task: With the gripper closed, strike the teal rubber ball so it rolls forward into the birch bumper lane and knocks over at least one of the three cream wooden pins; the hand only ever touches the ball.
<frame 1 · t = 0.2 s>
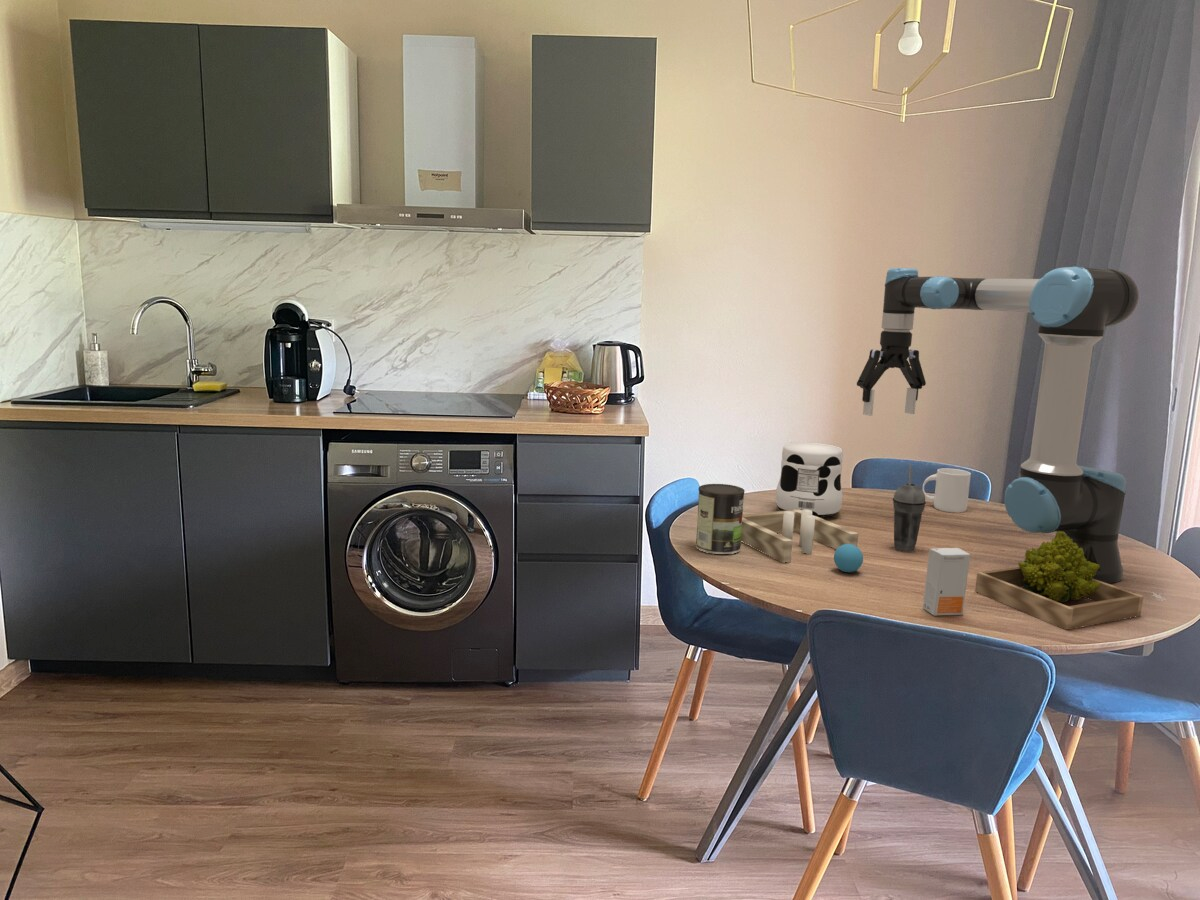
hand: (888, 414, 224), 28 cm above the table, tool pointing down, fingers open, 13 cm apart
mug: (943, 509, 244), on the table
beverage cup: (904, 549, 204), on the table
skincare box: (942, 613, 164), on the table
coffee can: (717, 549, 199), on the table
bumper: (790, 544, 204), on the table
pin back right: (804, 546, 203), on the table
pin back left: (786, 548, 201), on the table
ball: (848, 558, 185), on the table
milk container: (807, 514, 233), on the table
crate: (1055, 603, 171), on the table
pin front: (806, 552, 199), on the table
vegetable: (1053, 597, 174), resting in crate
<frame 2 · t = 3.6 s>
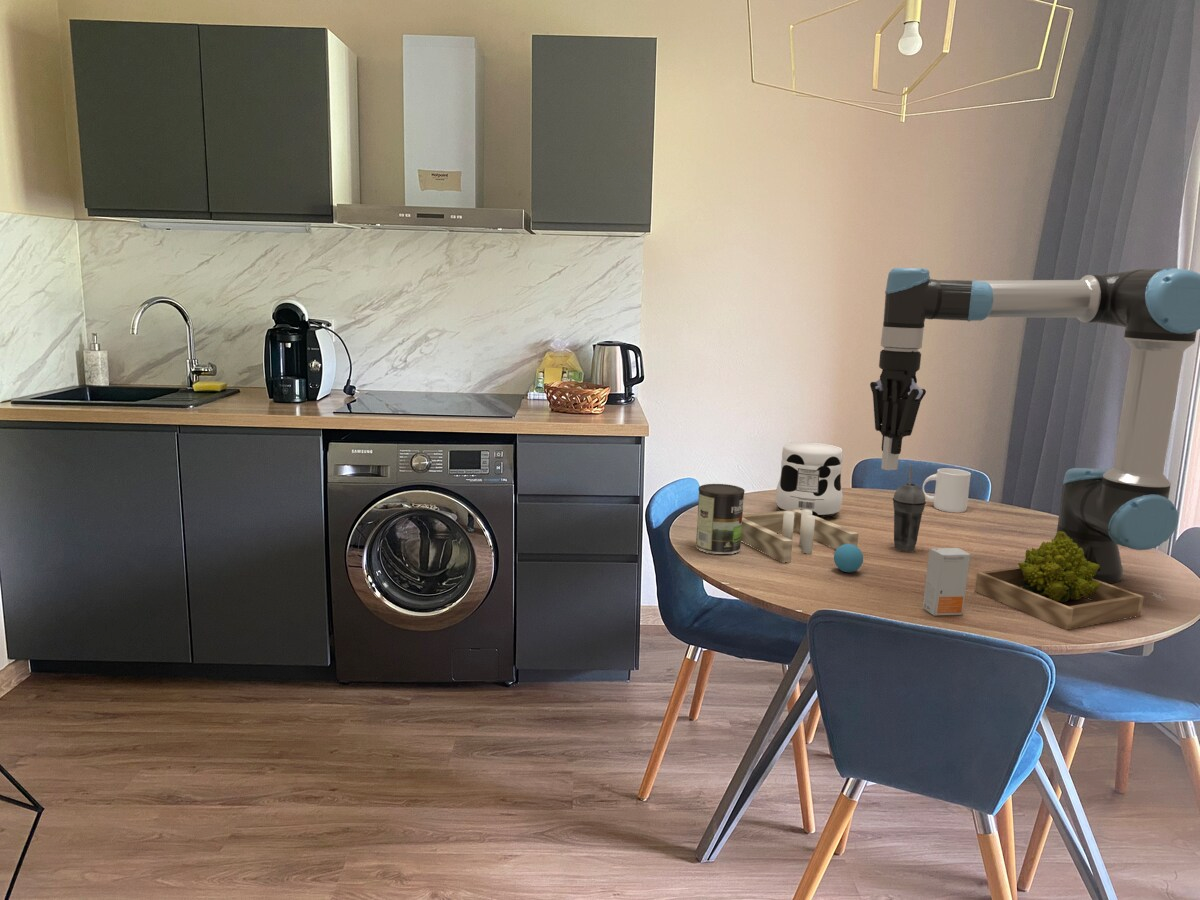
hand: (889, 469, 173), 24 cm above the table, tool pointing down, fingers closed
nothing on the table moved.
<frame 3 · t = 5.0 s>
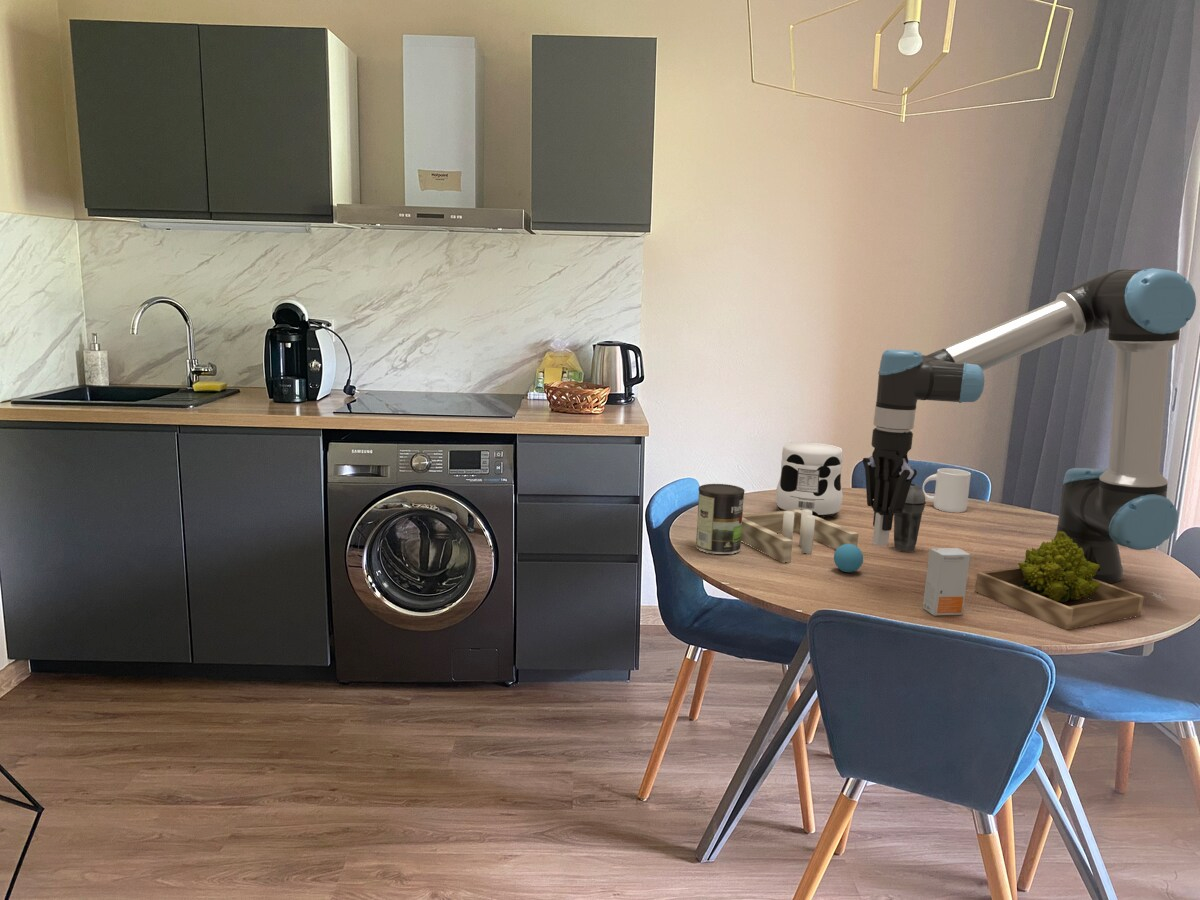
hand: (880, 544, 176), 9 cm above the table, tool pointing down, fingers closed
nothing on the table moved.
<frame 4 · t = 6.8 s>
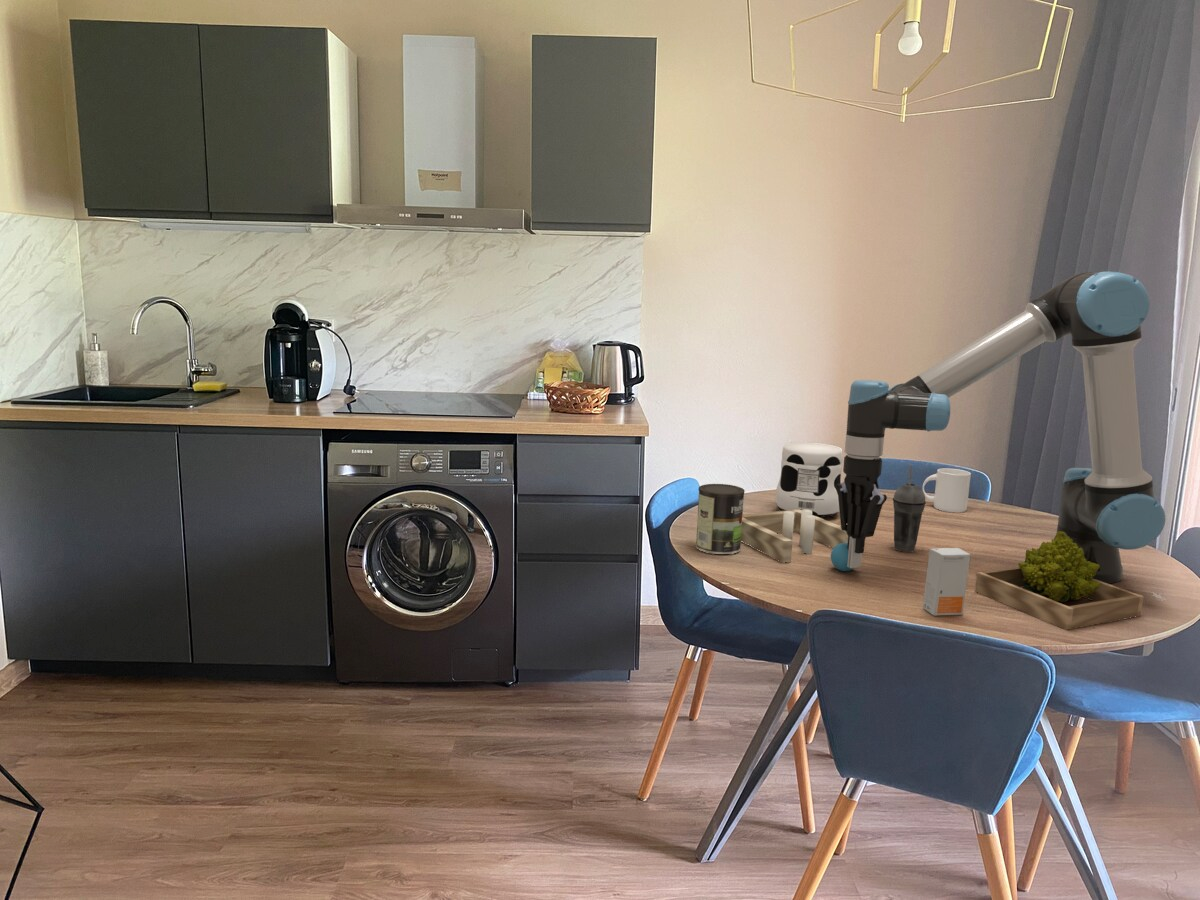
hand: (854, 566, 183), 2 cm above the table, tool pointing down, fingers closed
ball: (845, 557, 186), on the table, touching gripper
everything else where it was.
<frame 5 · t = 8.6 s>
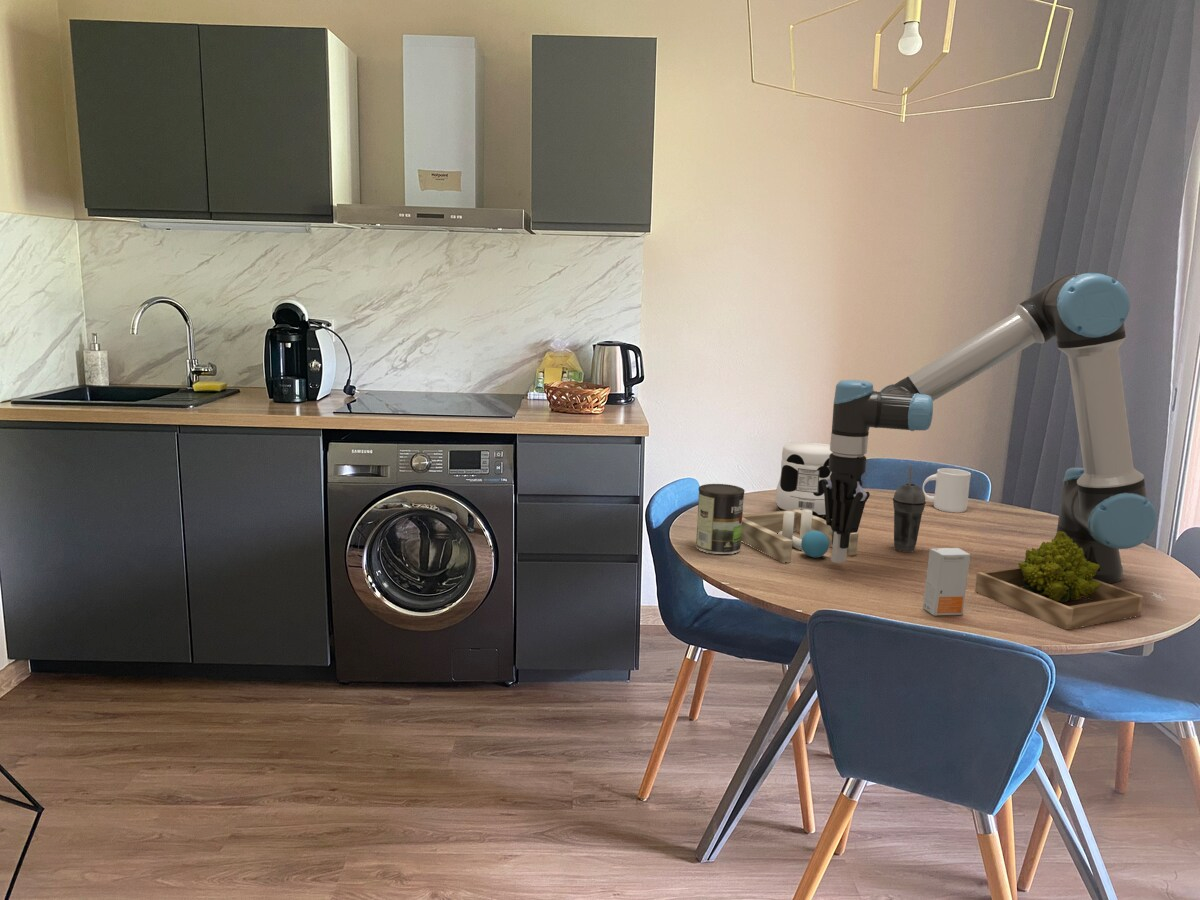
hand: (838, 561, 188), 1 cm above the table, tool pointing down, fingers closed
ball: (815, 543, 195), on the table
pin front: (803, 546, 200), point 1 cm above the table, tilted 90°
everything else where it was.
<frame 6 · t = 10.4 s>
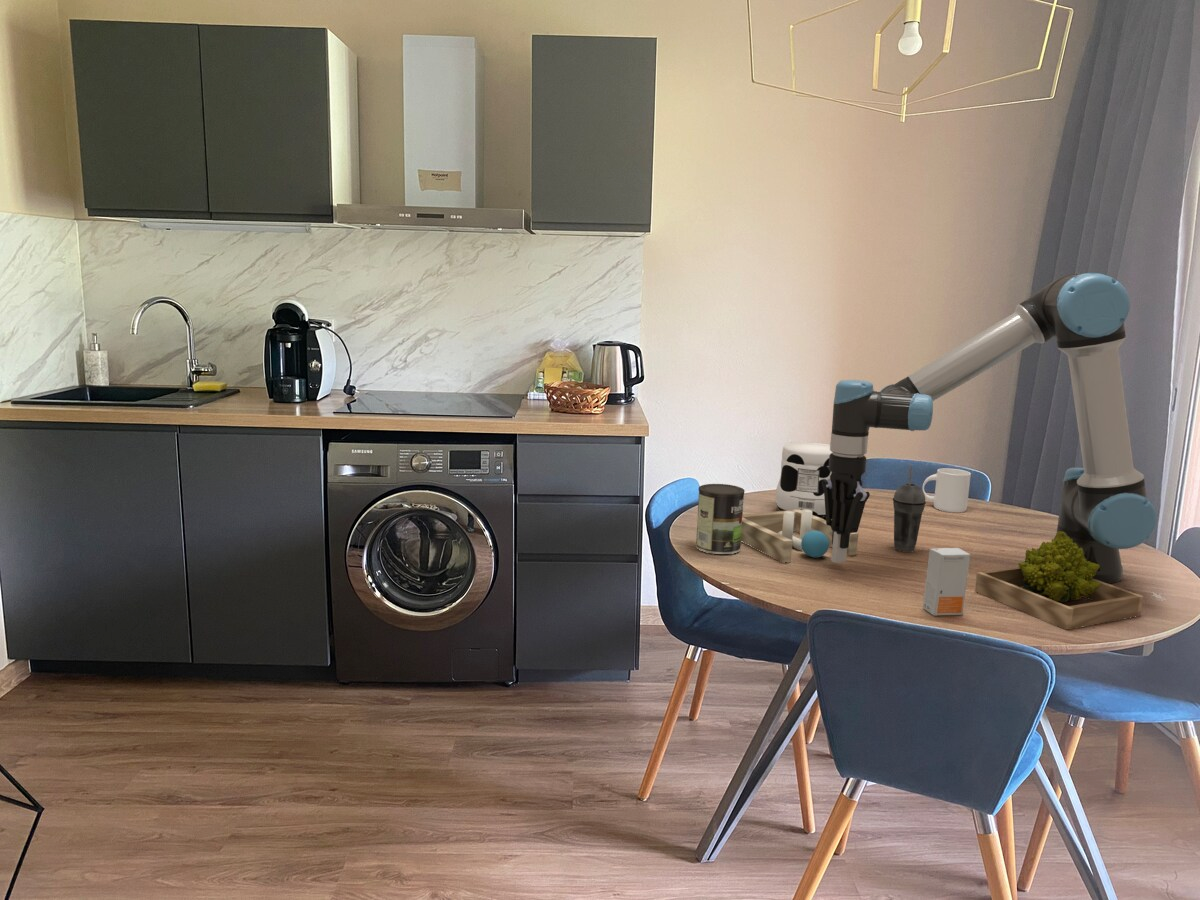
hand: (838, 561, 188), 1 cm above the table, tool pointing down, fingers closed
nothing on the table moved.
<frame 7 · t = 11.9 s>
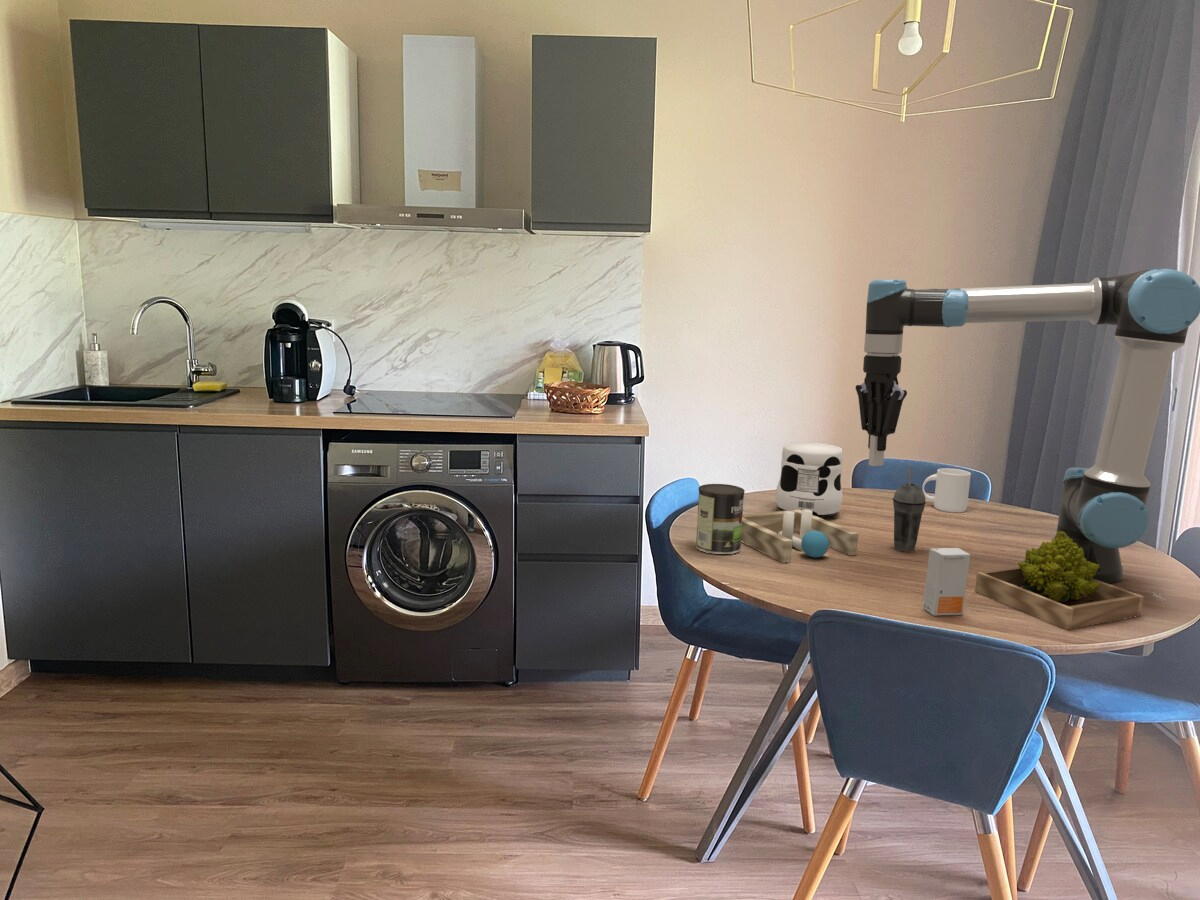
hand: (875, 465, 187), 22 cm above the table, tool pointing down, fingers closed
nothing on the table moved.
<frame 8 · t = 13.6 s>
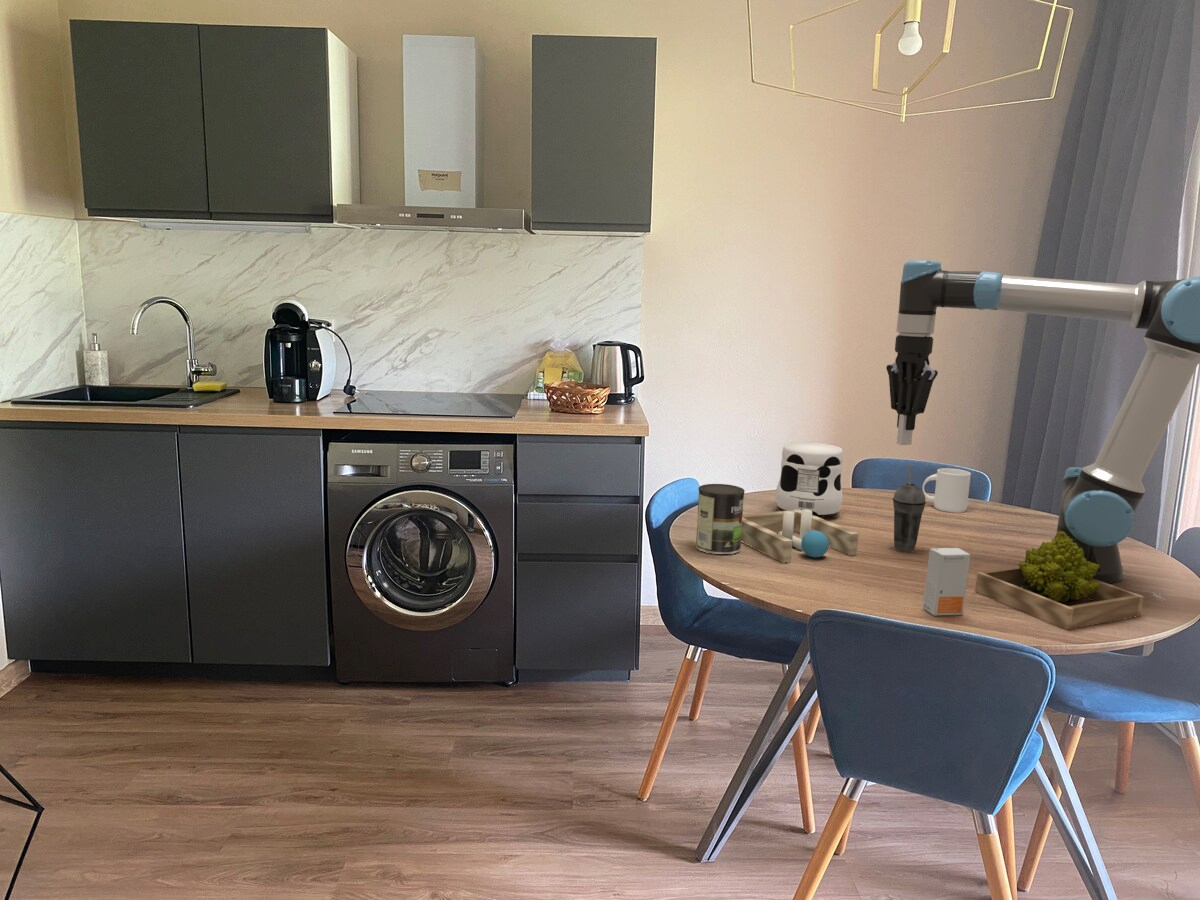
hand: (903, 444, 190), 26 cm above the table, tool pointing down, fingers closed
nothing on the table moved.
at the end: 1 of 3 knocked over (down: pin front; still standing: pin back left, pin back right); pin front never touched the robot; ball moved 10.8 cm from its start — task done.
